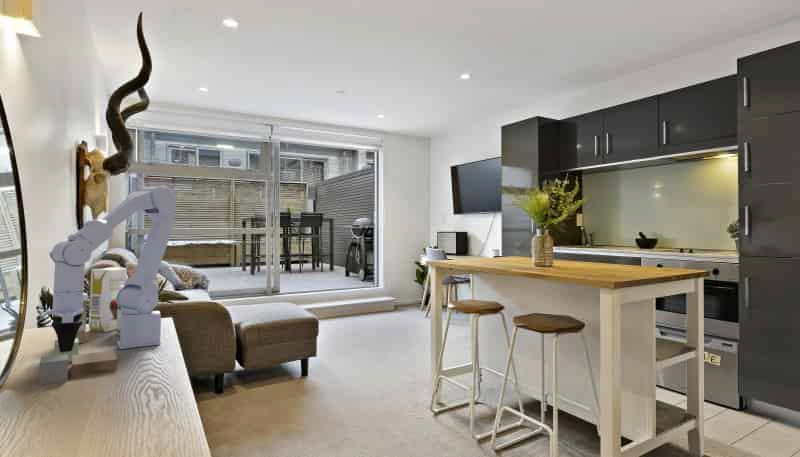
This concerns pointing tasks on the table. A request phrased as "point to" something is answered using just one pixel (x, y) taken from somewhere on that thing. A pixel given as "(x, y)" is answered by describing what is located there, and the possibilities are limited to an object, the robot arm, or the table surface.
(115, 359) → the walnut block
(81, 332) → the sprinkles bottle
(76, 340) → the sage block
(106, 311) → the juice carton
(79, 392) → the table surface
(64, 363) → the grey block
